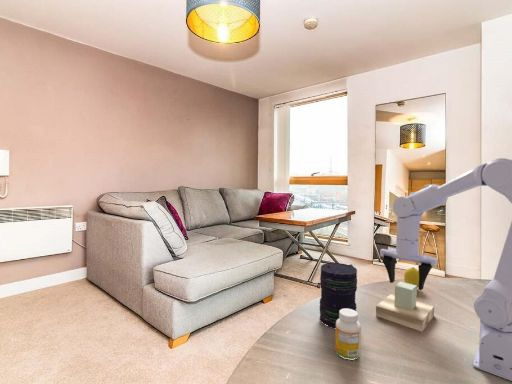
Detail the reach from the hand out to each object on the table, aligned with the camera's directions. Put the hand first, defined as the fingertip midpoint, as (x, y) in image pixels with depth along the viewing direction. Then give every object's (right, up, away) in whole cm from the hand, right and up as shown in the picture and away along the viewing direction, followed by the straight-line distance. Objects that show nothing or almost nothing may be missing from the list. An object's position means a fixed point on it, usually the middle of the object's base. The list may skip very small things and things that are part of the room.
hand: (406, 285), depth 82 cm
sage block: (0, -6, 0) cm, 6 cm away
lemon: (+13, -8, +20) cm, 26 cm away
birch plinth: (0, -9, +1) cm, 9 cm away
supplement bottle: (-23, -10, -17) cm, 30 cm away
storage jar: (-21, -9, -2) cm, 23 cm away
